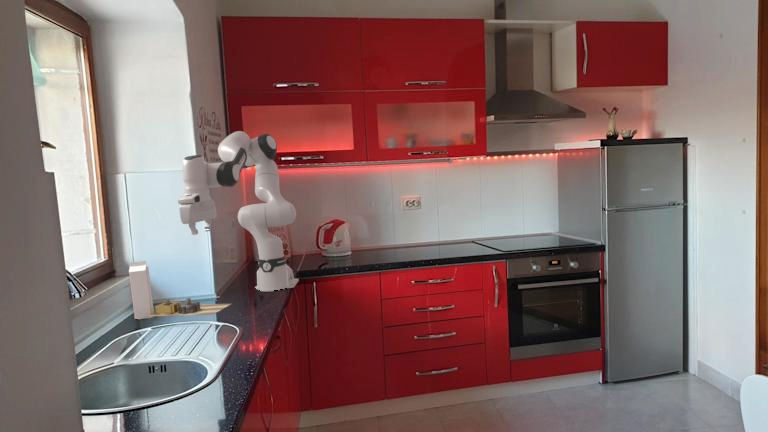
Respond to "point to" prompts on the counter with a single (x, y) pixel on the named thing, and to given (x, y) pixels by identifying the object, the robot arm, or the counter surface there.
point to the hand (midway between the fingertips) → (201, 232)
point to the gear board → (202, 310)
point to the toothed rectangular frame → (167, 308)
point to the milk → (141, 290)
